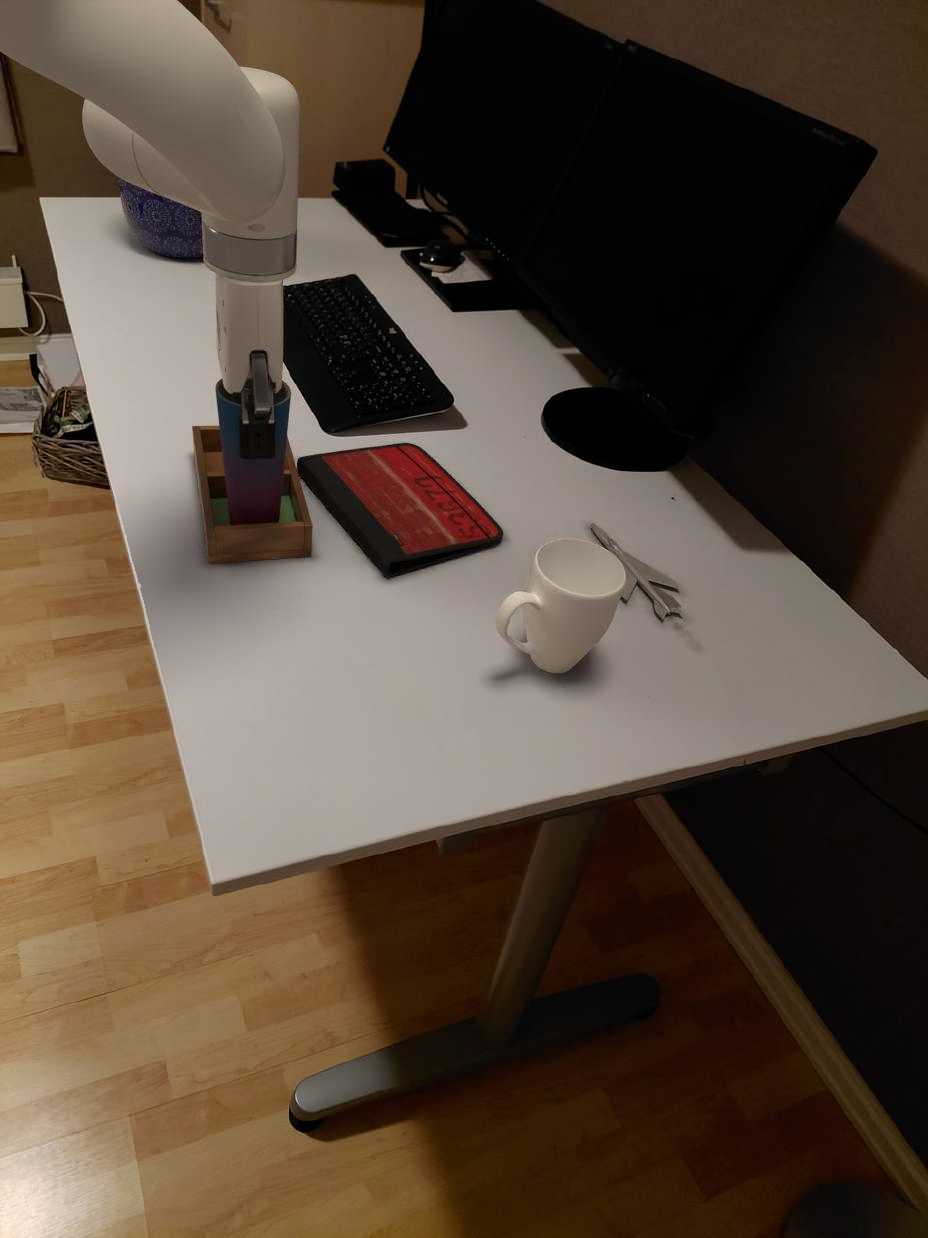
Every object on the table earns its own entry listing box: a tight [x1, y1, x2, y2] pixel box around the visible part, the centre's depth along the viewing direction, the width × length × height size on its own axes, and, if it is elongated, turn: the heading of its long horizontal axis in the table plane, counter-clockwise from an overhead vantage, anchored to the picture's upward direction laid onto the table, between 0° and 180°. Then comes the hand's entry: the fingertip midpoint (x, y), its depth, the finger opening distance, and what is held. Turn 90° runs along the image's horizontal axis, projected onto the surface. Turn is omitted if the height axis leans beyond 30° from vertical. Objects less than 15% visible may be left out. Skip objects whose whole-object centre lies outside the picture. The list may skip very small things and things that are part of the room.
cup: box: [214, 378, 292, 525], centre depth 83 cm, size 7×7×15 cm
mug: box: [495, 537, 626, 674], centre depth 77 cm, size 12×8×11 cm
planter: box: [116, 176, 204, 259], centre depth 135 cm, size 18×18×21 cm
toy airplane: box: [590, 522, 699, 646], centre depth 91 cm, size 8×21×2 cm, turn 25°
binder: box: [296, 442, 504, 579], centre depth 95 cm, size 16×2×21 cm
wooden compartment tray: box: [191, 425, 314, 564], centre depth 91 cm, size 10×20×4 cm, turn 17°
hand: (253, 436), depth 81 cm, fingers closed on cup, 6 cm apart
